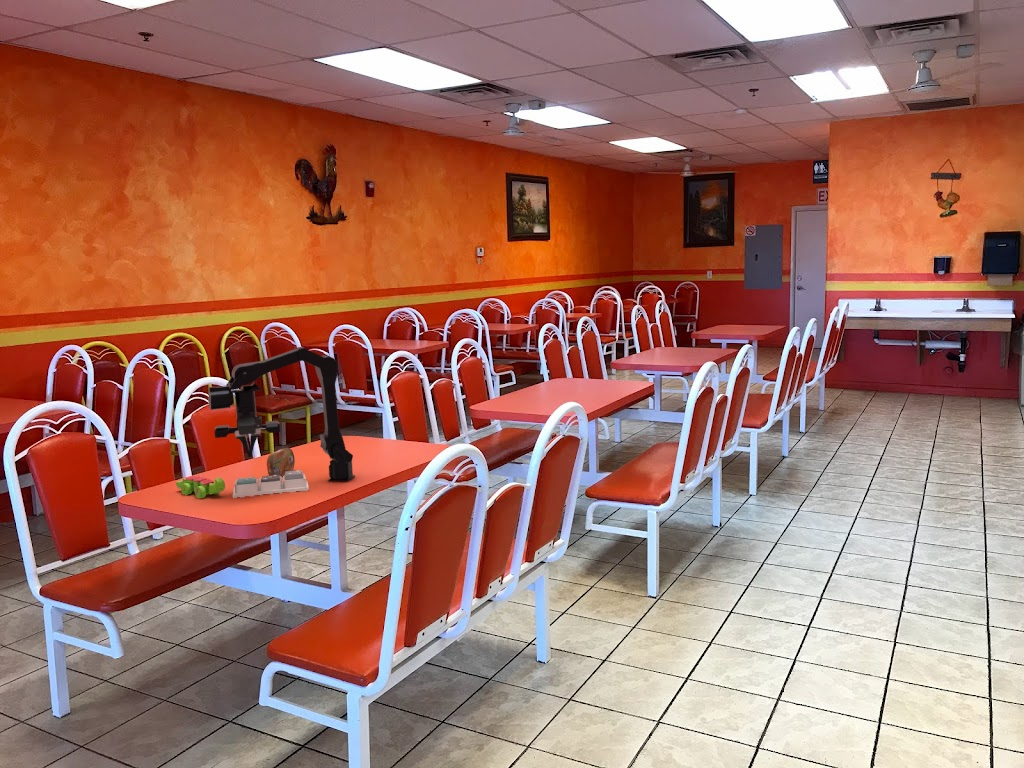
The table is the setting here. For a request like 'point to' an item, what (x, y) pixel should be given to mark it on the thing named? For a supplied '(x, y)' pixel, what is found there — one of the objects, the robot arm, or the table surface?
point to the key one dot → (246, 480)
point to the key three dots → (270, 478)
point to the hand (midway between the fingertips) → (250, 457)
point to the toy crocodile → (201, 486)
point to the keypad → (270, 487)
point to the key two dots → (293, 475)
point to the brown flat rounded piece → (280, 462)
